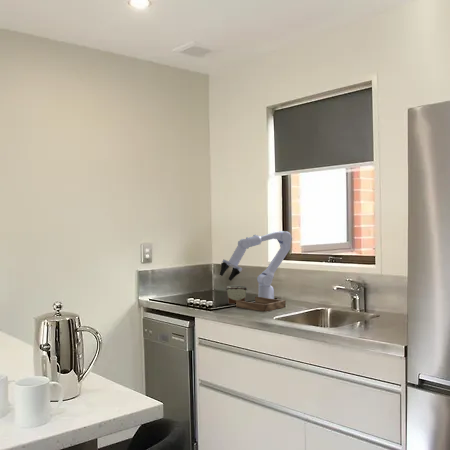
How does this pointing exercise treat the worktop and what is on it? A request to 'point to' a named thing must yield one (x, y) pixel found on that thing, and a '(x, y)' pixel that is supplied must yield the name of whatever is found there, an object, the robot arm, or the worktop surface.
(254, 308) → the wooden tray
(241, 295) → the food container
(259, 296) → the robot arm
